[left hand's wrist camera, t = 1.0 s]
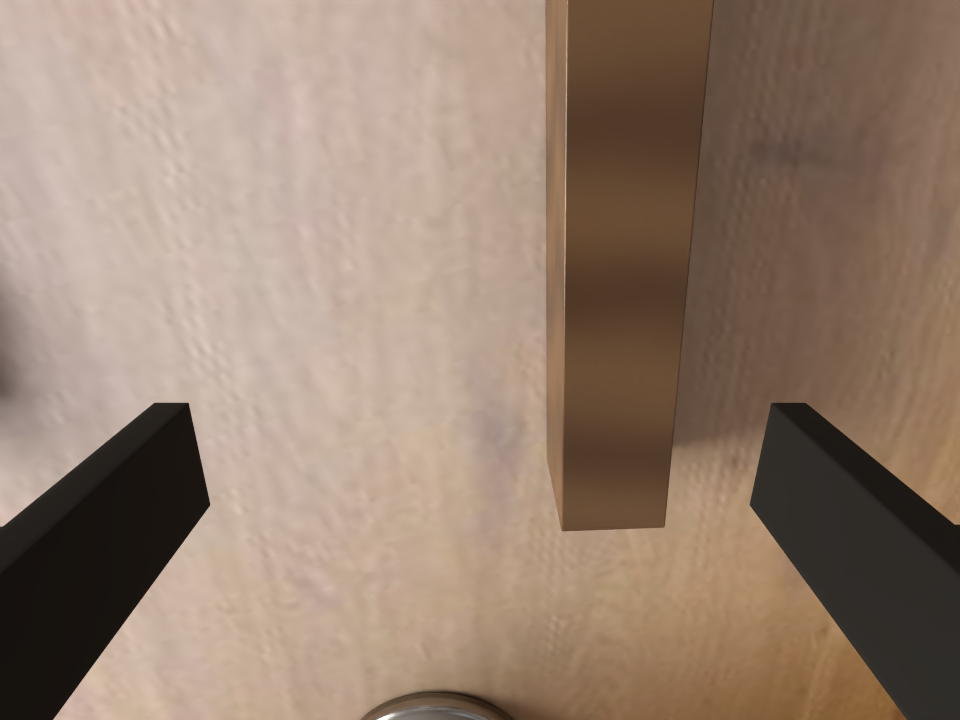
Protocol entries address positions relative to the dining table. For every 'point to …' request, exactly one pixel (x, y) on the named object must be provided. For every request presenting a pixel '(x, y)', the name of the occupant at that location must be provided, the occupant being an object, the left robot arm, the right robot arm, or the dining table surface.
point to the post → (618, 247)
